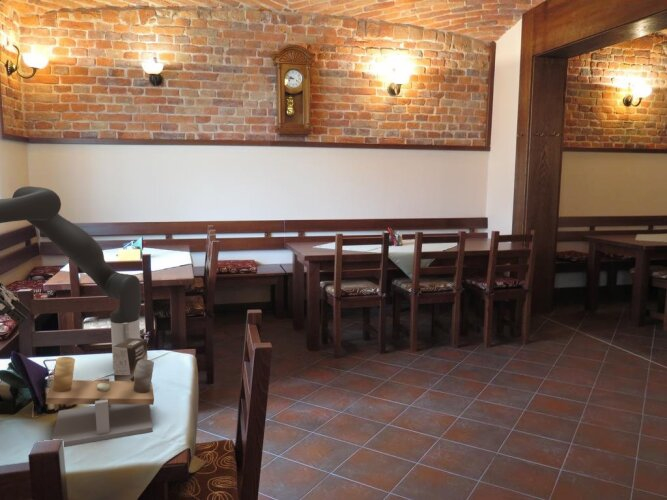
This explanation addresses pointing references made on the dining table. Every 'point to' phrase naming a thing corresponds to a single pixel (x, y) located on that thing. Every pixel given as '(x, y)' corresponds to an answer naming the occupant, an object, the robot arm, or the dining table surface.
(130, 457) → the dining table surface
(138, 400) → the plate
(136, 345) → the coffee box
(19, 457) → the dining table surface
